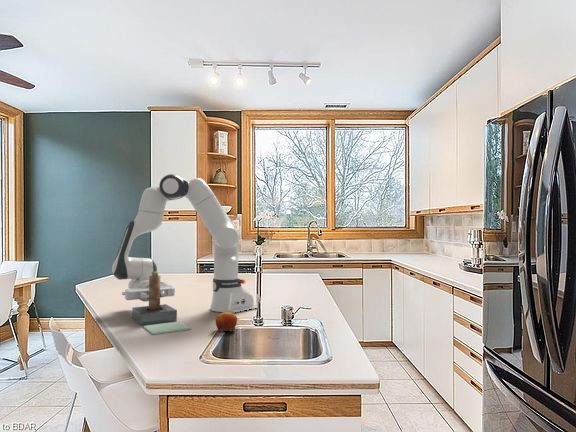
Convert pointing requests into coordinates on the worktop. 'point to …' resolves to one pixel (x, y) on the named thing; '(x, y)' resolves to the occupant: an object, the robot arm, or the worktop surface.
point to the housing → (154, 315)
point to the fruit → (226, 321)
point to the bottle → (154, 292)
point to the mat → (166, 328)
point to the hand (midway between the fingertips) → (155, 295)
